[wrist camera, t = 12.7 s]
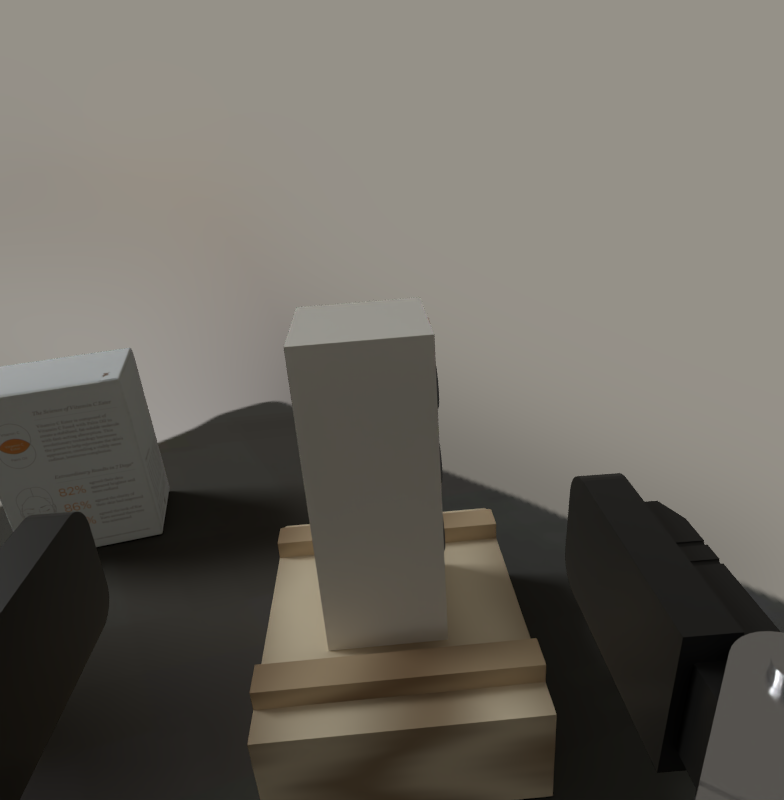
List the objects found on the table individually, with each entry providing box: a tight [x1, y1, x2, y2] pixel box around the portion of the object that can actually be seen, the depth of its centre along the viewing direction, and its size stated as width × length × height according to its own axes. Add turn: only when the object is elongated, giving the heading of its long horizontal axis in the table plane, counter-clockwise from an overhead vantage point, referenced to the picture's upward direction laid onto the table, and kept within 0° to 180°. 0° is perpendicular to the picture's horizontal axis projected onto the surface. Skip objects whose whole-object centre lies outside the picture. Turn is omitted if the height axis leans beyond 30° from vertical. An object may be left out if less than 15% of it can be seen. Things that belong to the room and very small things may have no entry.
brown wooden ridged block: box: [247, 508, 557, 800], centre depth 26 cm, size 10×12×5 cm
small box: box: [0, 348, 169, 547], centre depth 38 cm, size 8×6×10 cm
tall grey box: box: [284, 297, 448, 651], centre depth 23 cm, size 5×4×12 cm
